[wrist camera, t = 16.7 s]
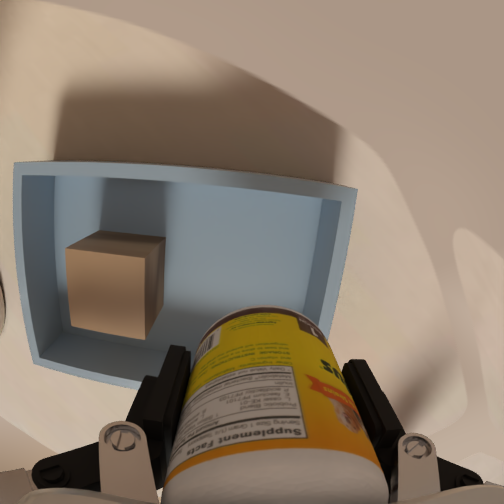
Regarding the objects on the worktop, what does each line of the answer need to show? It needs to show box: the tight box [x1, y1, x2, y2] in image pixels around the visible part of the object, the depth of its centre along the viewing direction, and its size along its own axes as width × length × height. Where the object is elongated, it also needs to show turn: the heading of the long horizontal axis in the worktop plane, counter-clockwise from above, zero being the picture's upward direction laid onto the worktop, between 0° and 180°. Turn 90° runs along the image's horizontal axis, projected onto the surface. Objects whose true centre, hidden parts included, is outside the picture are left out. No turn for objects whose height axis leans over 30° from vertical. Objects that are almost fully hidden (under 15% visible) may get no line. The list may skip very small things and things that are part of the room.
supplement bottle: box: [161, 305, 389, 504], centre depth 8 cm, size 6×6×10 cm
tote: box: [13, 160, 358, 390], centre depth 20 cm, size 21×15×5 cm
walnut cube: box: [65, 230, 166, 340], centre depth 19 cm, size 5×5×5 cm
